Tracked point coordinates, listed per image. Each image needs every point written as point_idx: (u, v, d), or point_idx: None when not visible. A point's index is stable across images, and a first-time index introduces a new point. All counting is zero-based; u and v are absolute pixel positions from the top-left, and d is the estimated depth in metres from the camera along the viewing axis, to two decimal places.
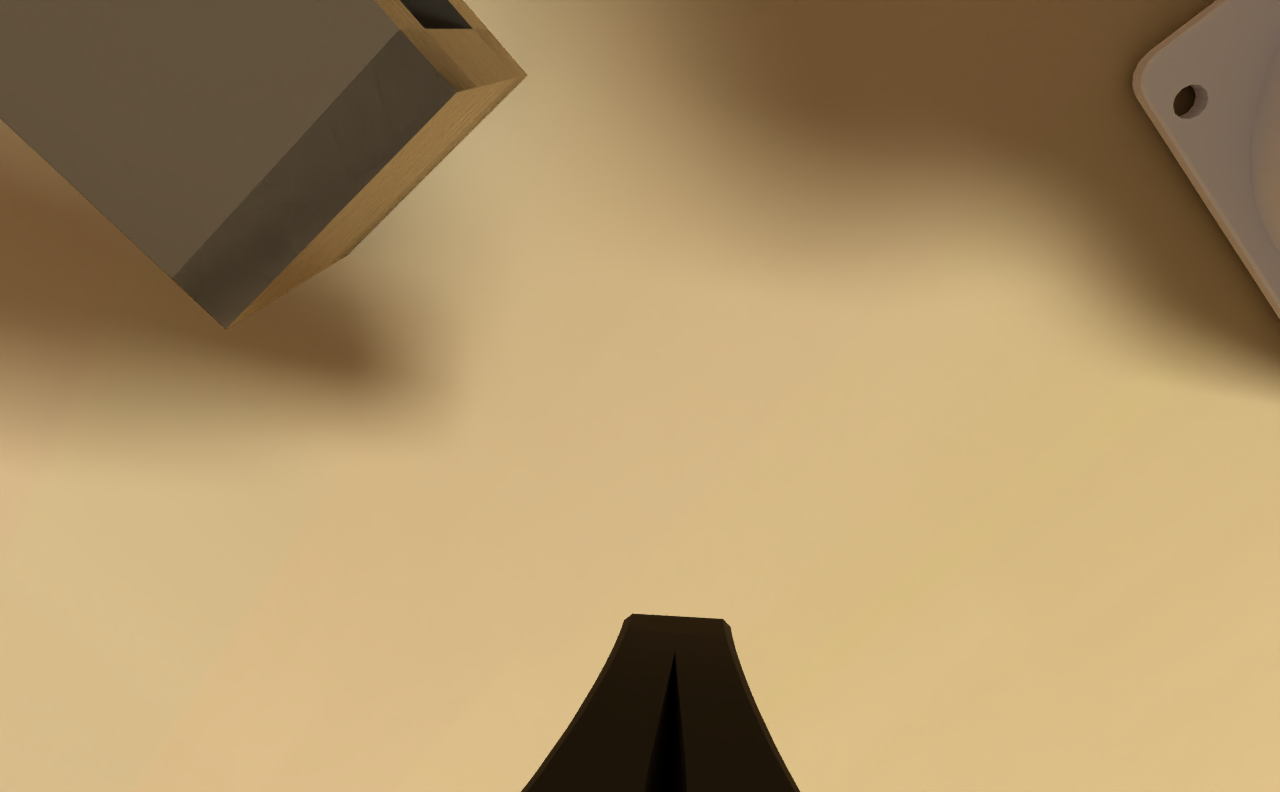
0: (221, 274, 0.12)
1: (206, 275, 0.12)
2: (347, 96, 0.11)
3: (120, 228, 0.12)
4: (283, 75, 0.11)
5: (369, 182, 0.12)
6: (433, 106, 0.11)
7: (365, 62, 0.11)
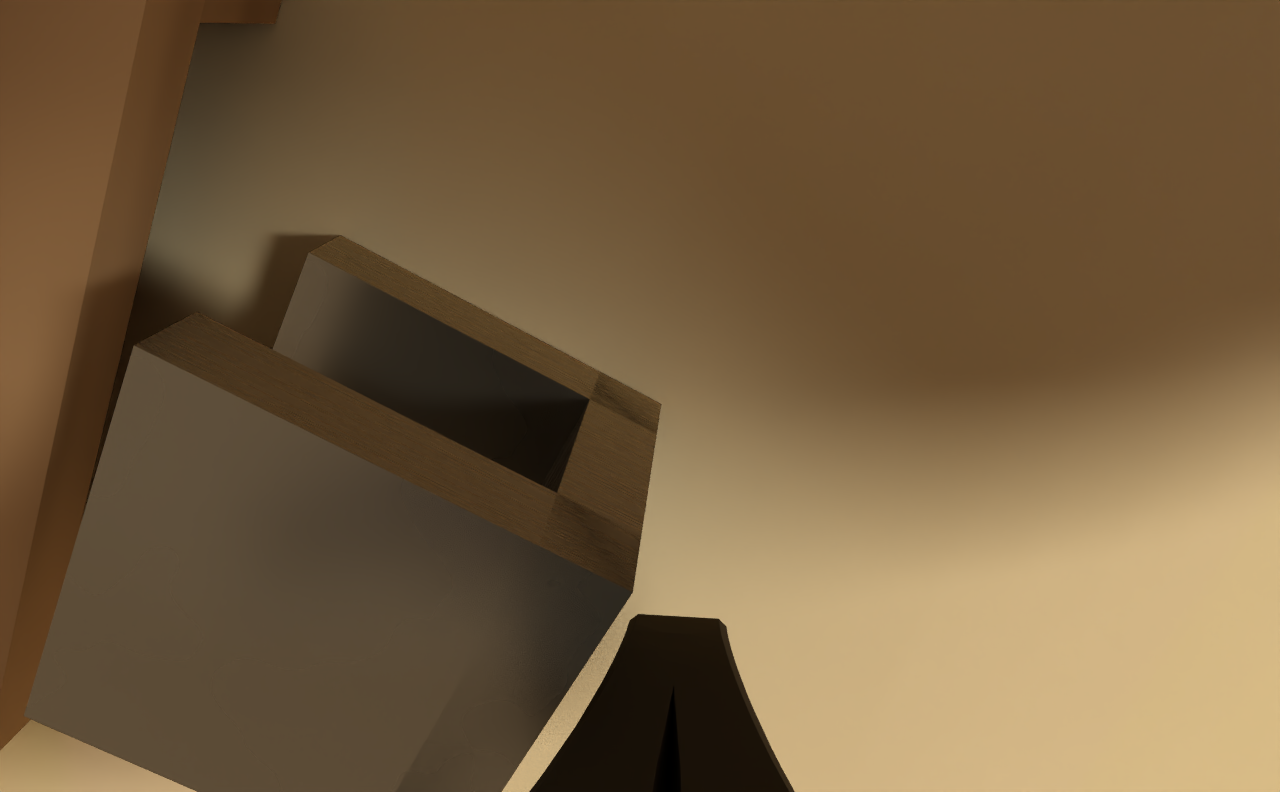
0: None
1: None
2: (497, 632, 0.08)
3: None
4: (414, 631, 0.08)
5: (553, 709, 0.09)
6: (607, 614, 0.08)
7: (507, 591, 0.08)
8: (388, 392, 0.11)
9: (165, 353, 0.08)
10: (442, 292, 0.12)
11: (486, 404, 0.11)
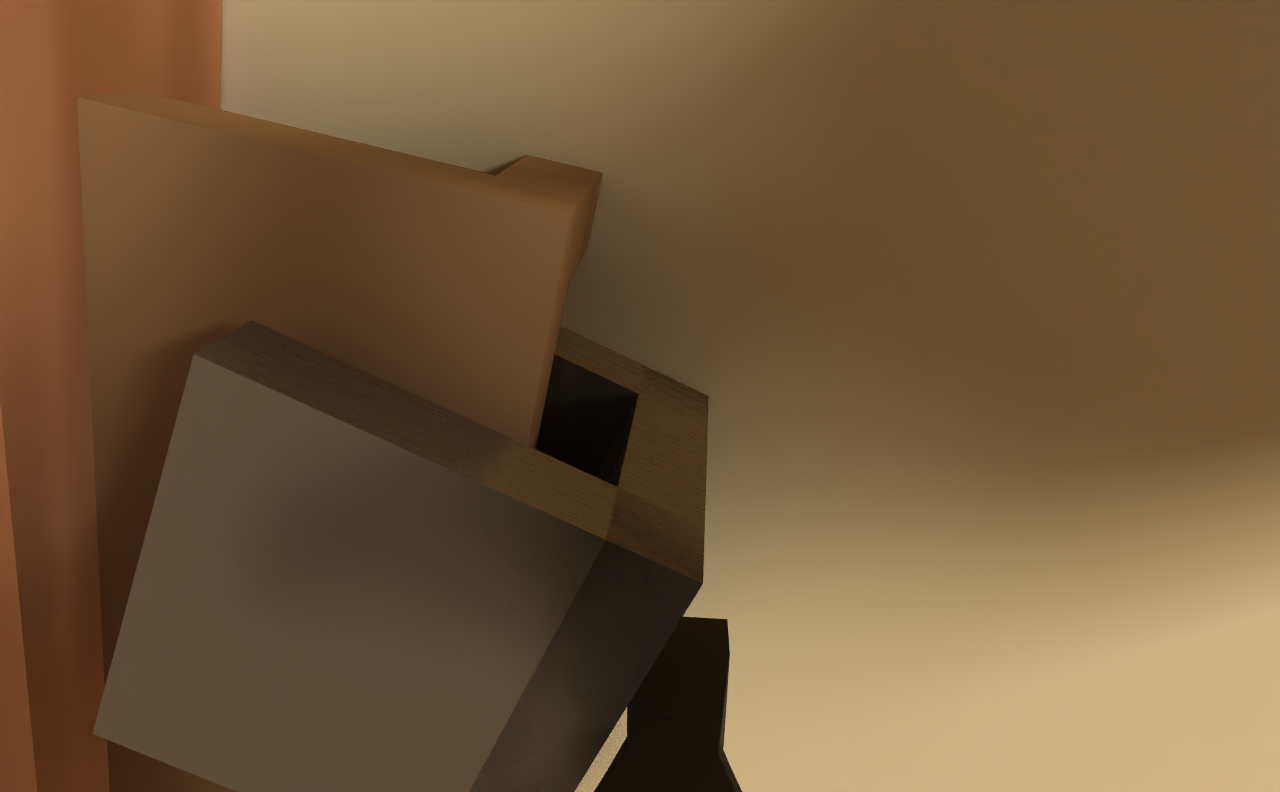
0: None
1: None
2: (565, 630, 0.08)
3: None
4: (480, 632, 0.08)
5: (624, 706, 0.09)
6: (677, 607, 0.08)
7: (575, 587, 0.08)
8: None
9: (225, 361, 0.08)
10: None
11: None
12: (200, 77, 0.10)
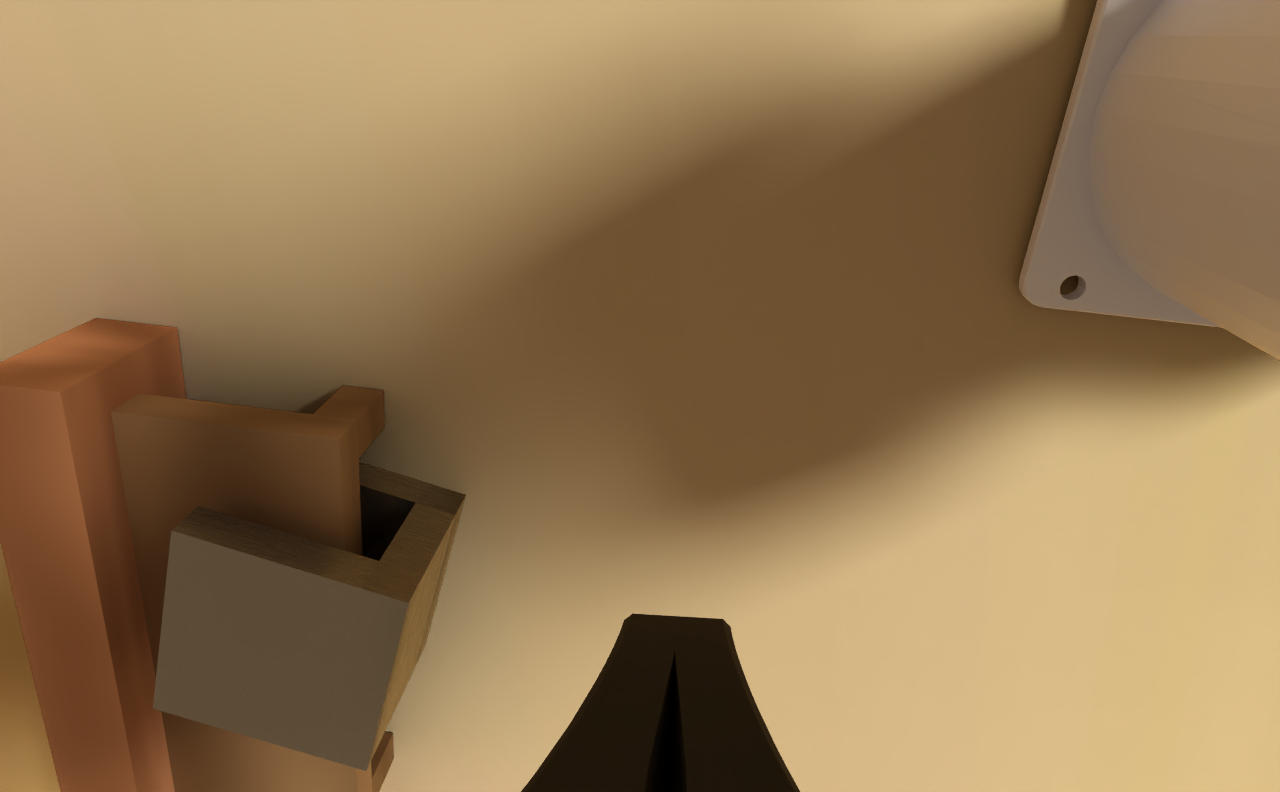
0: (347, 744, 0.19)
1: (340, 749, 0.19)
2: (356, 631, 0.18)
3: (284, 745, 0.19)
4: (319, 636, 0.18)
5: (393, 664, 0.18)
6: (401, 614, 0.18)
7: (354, 611, 0.18)
8: None
9: (185, 530, 0.17)
10: None
11: (363, 513, 0.21)
12: (170, 370, 0.20)
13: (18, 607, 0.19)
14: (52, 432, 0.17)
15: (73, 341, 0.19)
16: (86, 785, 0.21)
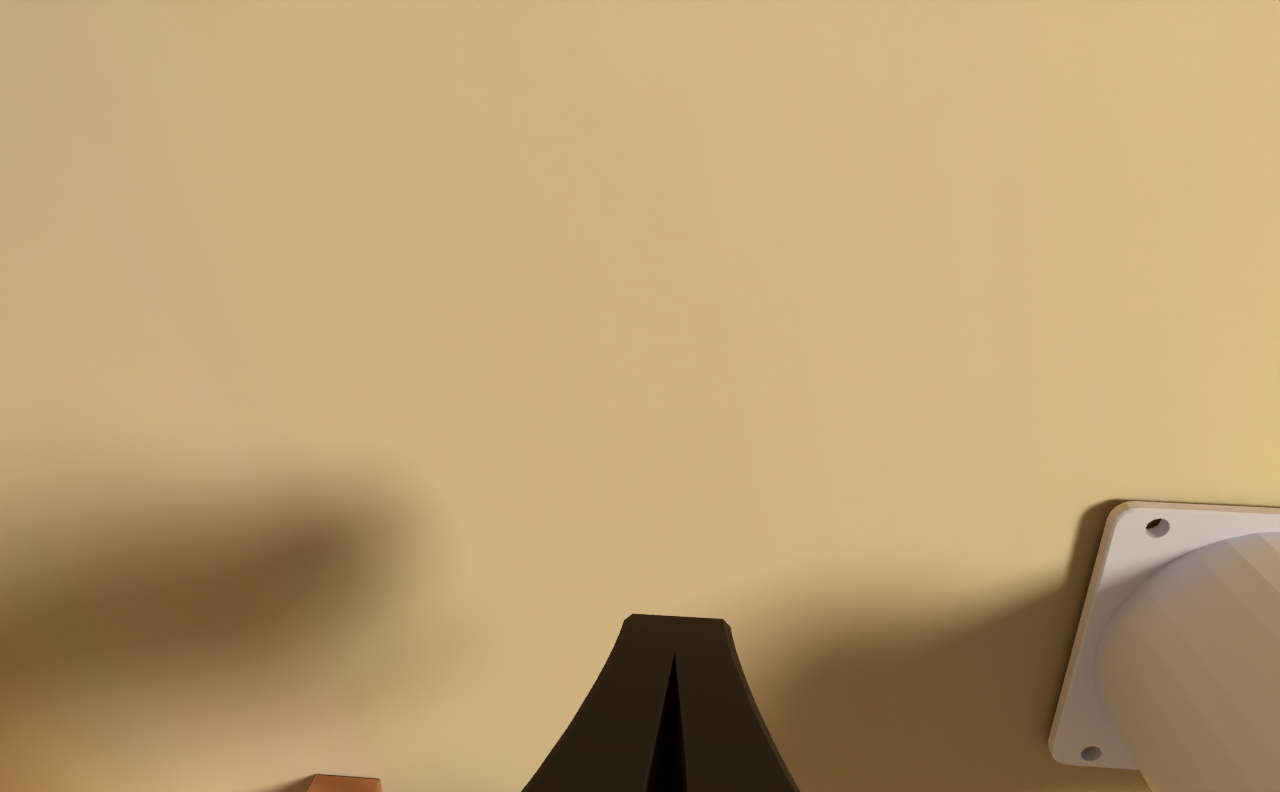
0: None
1: None
2: None
3: None
4: None
5: None
6: None
7: None
8: None
9: None
10: None
11: None
12: None
13: None
14: None
15: None
16: None
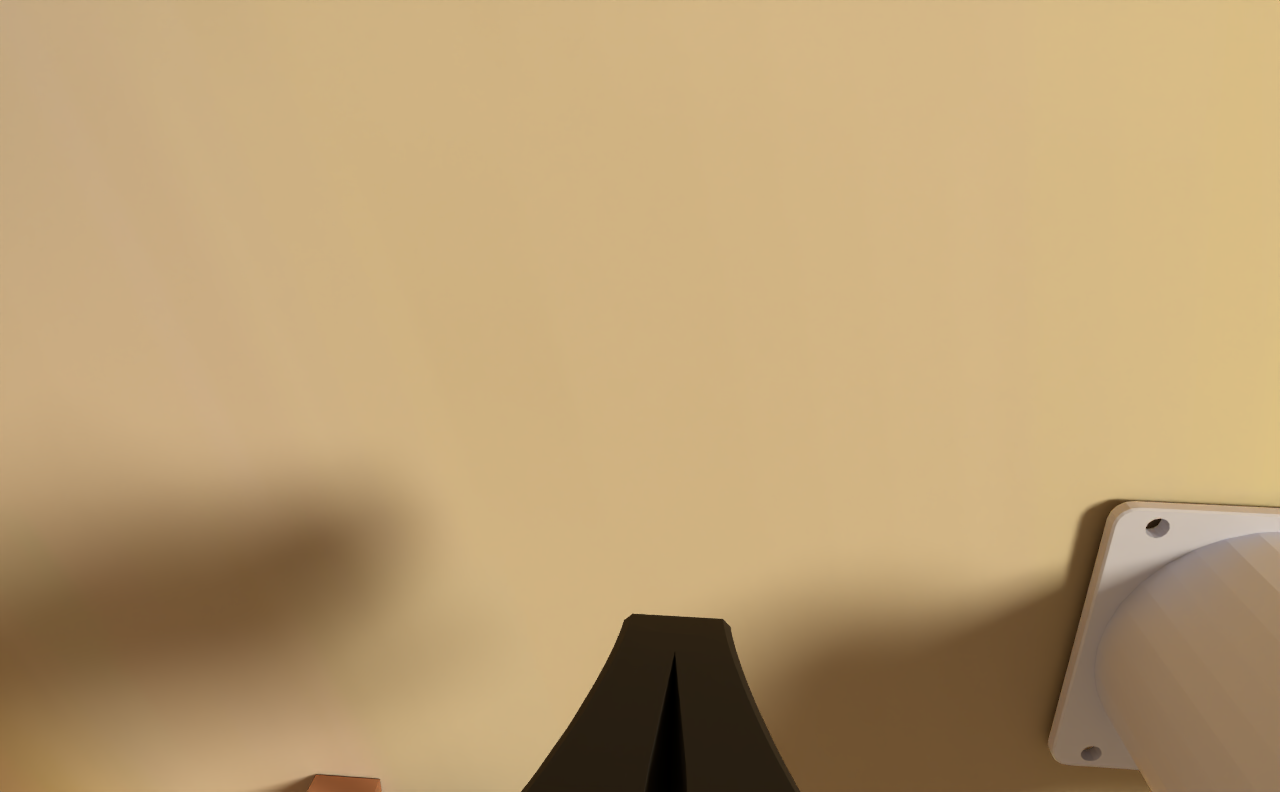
0: None
1: None
2: None
3: None
4: None
5: None
6: None
7: None
8: None
9: None
10: None
11: None
12: None
13: None
14: None
15: None
16: None
